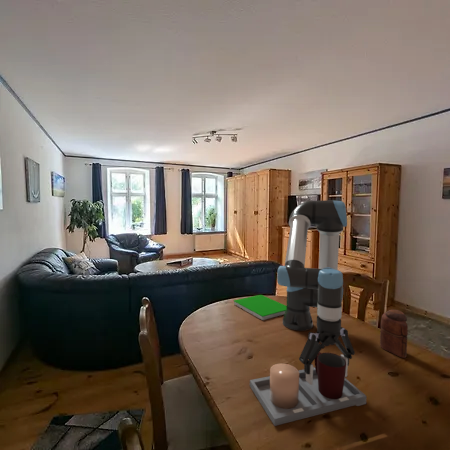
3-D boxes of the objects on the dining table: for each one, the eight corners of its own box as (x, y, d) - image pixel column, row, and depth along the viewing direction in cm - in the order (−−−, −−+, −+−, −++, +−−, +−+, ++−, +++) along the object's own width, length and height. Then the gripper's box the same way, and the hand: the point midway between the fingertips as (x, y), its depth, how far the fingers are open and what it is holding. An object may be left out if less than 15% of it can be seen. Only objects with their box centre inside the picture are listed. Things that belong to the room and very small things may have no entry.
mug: (304, 381, 98) (305, 350, 97) (324, 375, 102) (325, 346, 101) (329, 404, 87) (330, 370, 86) (350, 397, 90) (352, 364, 90)
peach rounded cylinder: (289, 387, 95) (289, 361, 94) (304, 405, 87) (305, 377, 86) (264, 392, 92) (265, 366, 92) (277, 411, 84) (278, 382, 83)
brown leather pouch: (412, 355, 116) (415, 313, 115) (403, 359, 113) (406, 316, 112) (384, 343, 127) (386, 304, 125) (375, 346, 124) (377, 306, 122)
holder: (328, 371, 105) (329, 363, 105) (366, 403, 88) (366, 395, 88) (249, 387, 96) (249, 379, 95) (274, 427, 79) (274, 418, 78)
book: (262, 321, 150) (262, 316, 150) (233, 305, 174) (233, 300, 174) (292, 313, 162) (292, 308, 162) (261, 298, 186) (261, 294, 186)
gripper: (351, 308, 100) (349, 365, 101) (289, 316, 92) (287, 378, 94) (368, 316, 93) (365, 378, 94) (302, 326, 85) (300, 393, 87)
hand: (326, 378), depth 94 cm, fingers open, 13 cm apart
